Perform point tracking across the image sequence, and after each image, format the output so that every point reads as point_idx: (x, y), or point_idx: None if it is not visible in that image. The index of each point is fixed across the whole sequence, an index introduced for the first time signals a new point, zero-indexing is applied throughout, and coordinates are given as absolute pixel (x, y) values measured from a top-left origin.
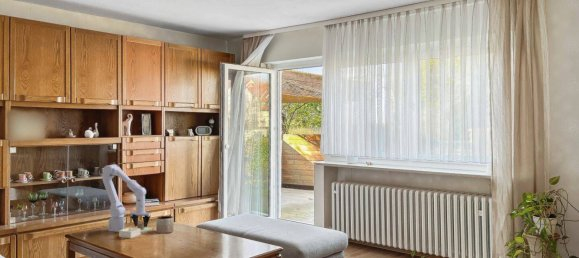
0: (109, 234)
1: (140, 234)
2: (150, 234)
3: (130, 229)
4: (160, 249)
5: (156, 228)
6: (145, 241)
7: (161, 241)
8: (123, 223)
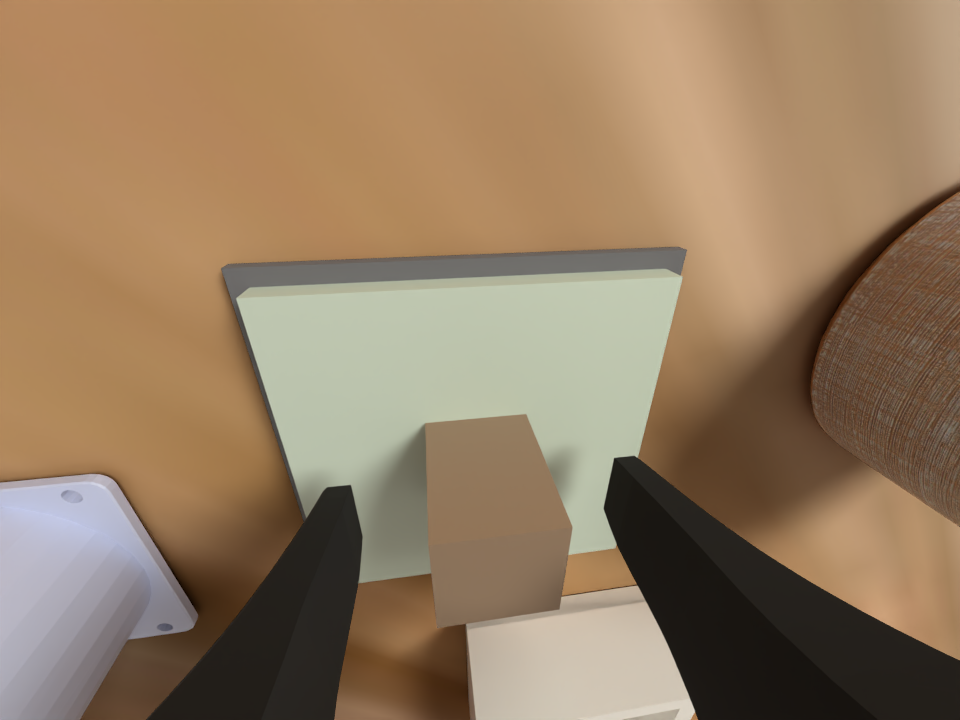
0: None
1: None
2: (745, 507)
3: (516, 706)
4: None
5: (883, 472)
6: None
7: (930, 604)
8: (16, 710)
